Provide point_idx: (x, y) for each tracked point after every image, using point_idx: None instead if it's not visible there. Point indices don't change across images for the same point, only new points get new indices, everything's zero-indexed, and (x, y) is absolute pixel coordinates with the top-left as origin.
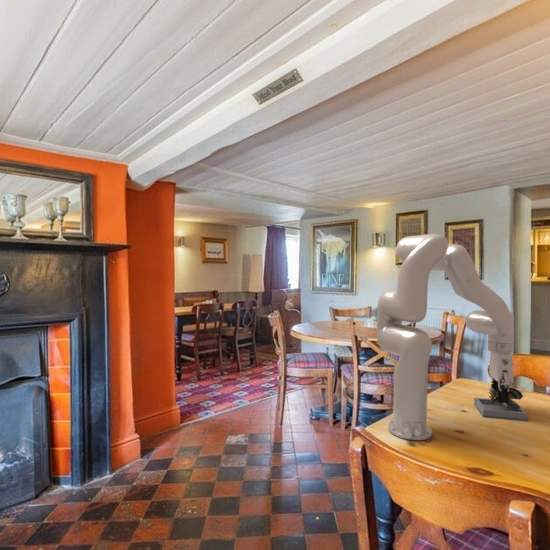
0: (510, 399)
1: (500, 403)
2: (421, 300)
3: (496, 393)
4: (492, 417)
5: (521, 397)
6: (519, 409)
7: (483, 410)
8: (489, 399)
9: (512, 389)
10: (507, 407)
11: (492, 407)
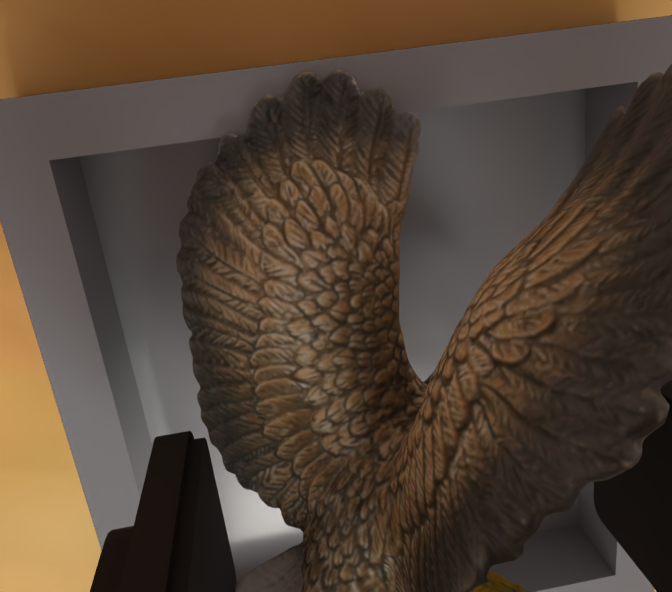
0: (351, 275)
1: (113, 346)
2: None
3: (389, 586)
4: None
5: (653, 95)
6: (449, 105)
7: (646, 589)
8: (132, 525)
9: (611, 379)
10: (165, 236)
11: None
